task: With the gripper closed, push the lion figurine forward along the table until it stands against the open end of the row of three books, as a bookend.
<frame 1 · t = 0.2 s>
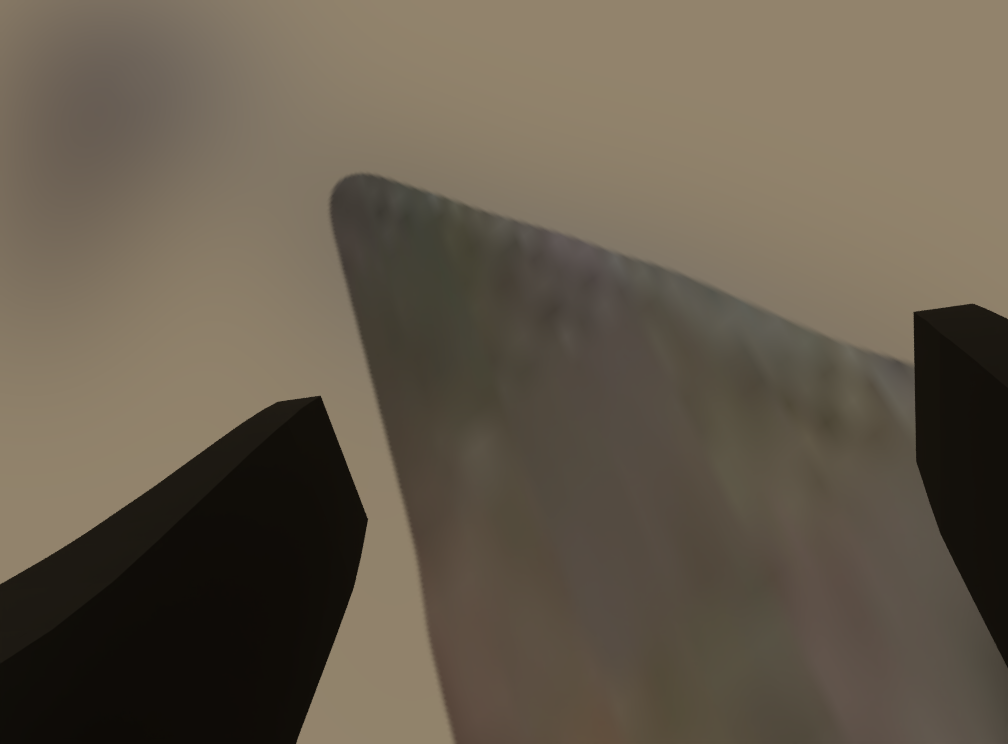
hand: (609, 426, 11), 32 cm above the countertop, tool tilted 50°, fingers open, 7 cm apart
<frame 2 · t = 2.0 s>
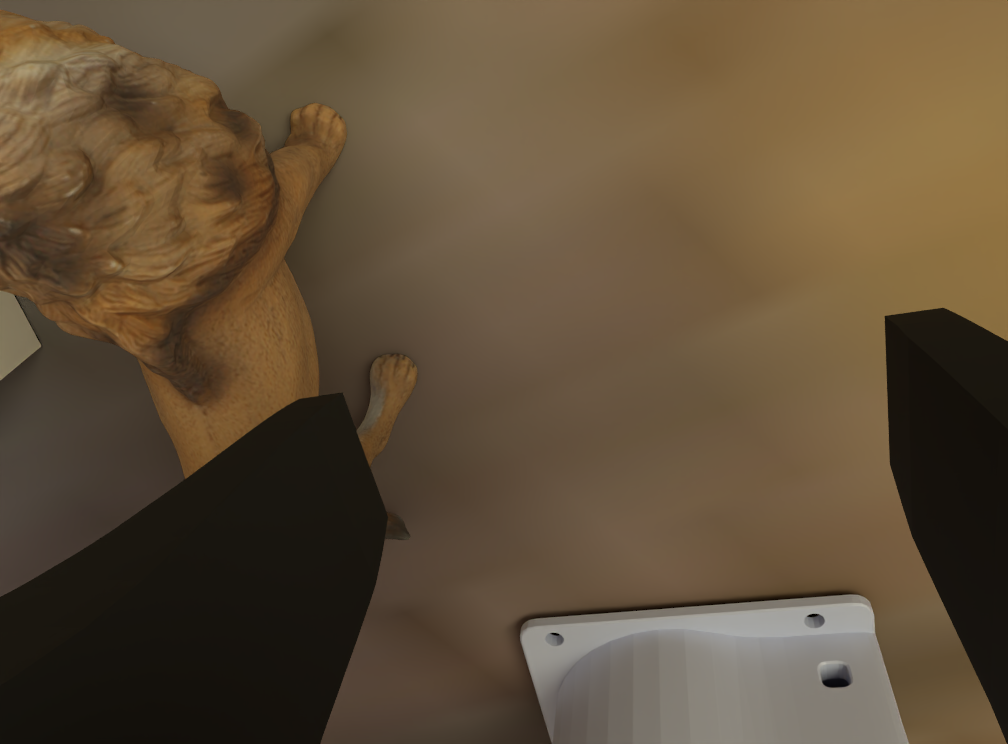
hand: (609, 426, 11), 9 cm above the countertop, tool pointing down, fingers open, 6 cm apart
lion figurine: (289, 266, 21), on the countertop
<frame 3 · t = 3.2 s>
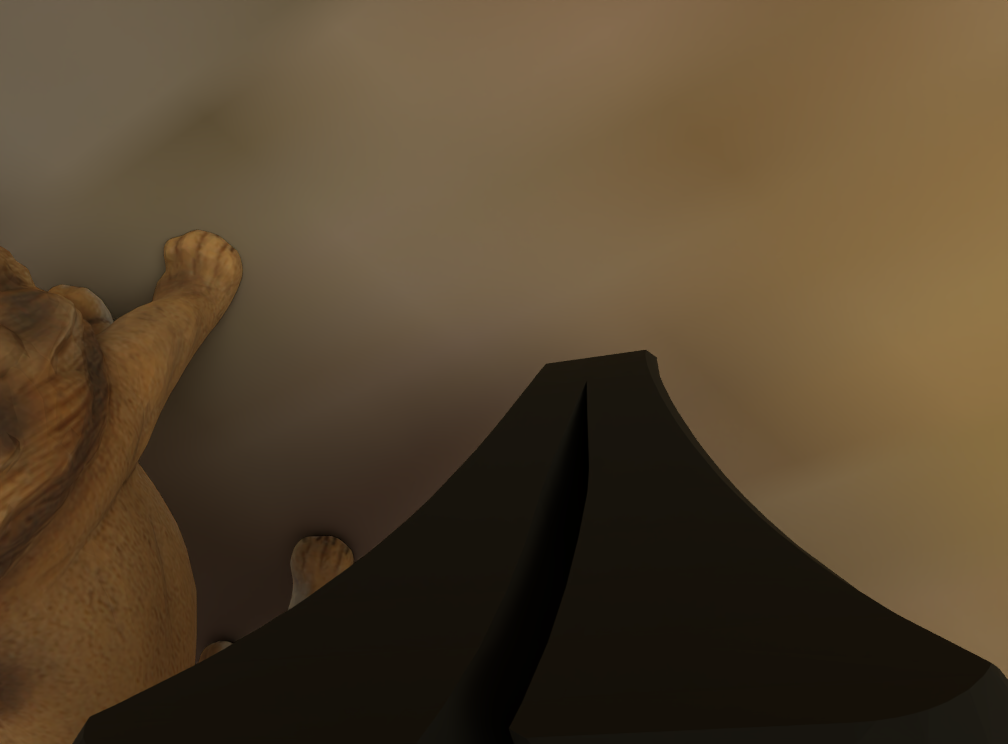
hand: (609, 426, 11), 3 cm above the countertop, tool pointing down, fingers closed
lion figurine: (182, 426, 16), on the countertop
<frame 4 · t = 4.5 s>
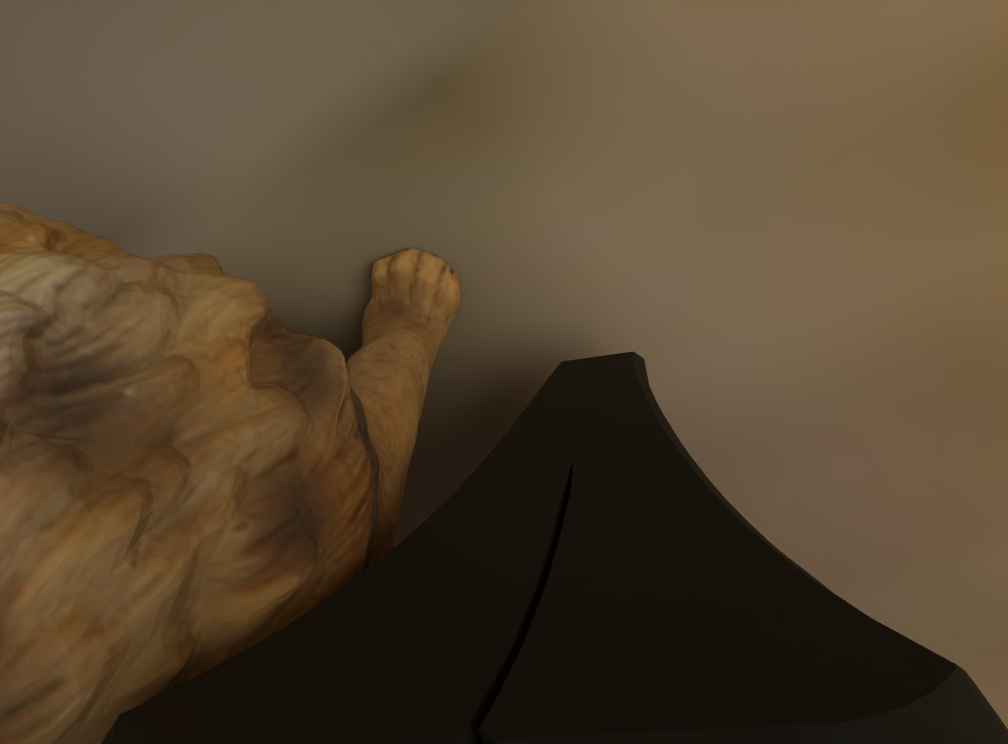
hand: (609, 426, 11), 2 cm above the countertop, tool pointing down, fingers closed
lion figurine: (362, 474, 14), on the countertop, touching gripper
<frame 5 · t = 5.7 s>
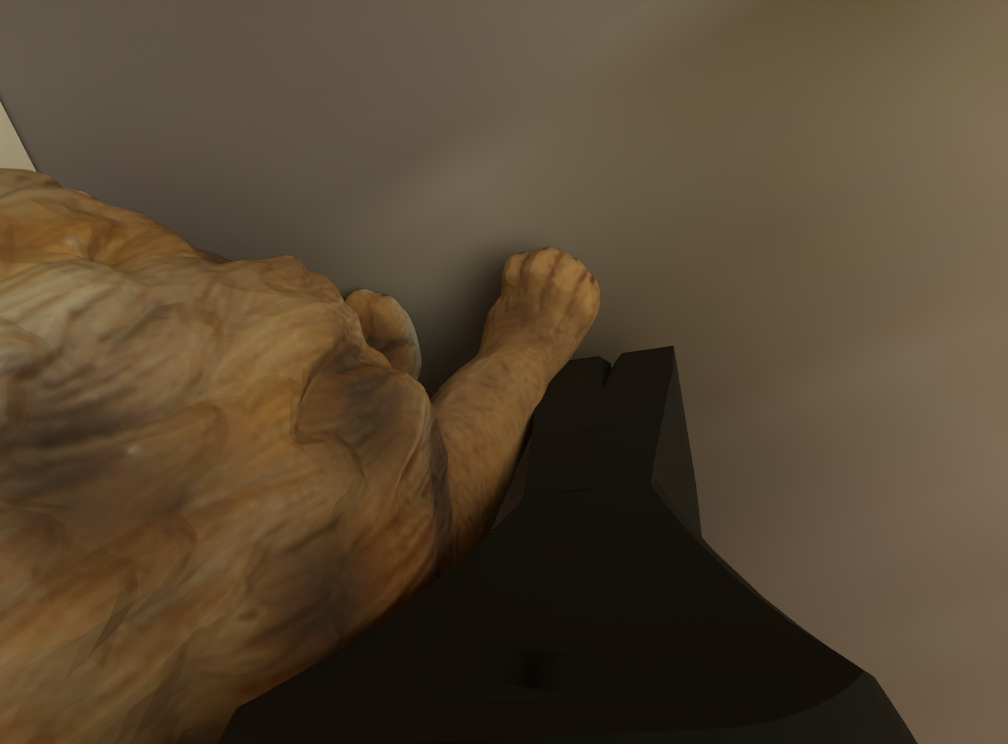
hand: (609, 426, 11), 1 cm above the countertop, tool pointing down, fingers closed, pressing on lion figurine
lion figurine: (473, 471, 13), on the countertop, touching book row, gripper
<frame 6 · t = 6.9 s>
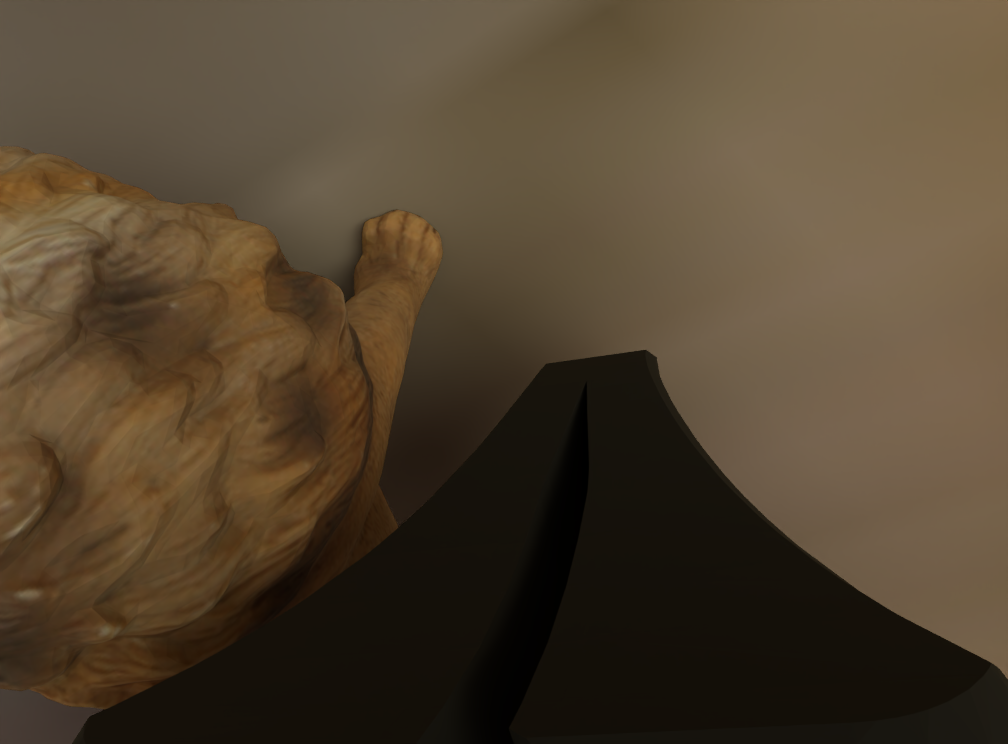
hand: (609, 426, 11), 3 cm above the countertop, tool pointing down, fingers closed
lion figurine: (352, 420, 16), on the countertop
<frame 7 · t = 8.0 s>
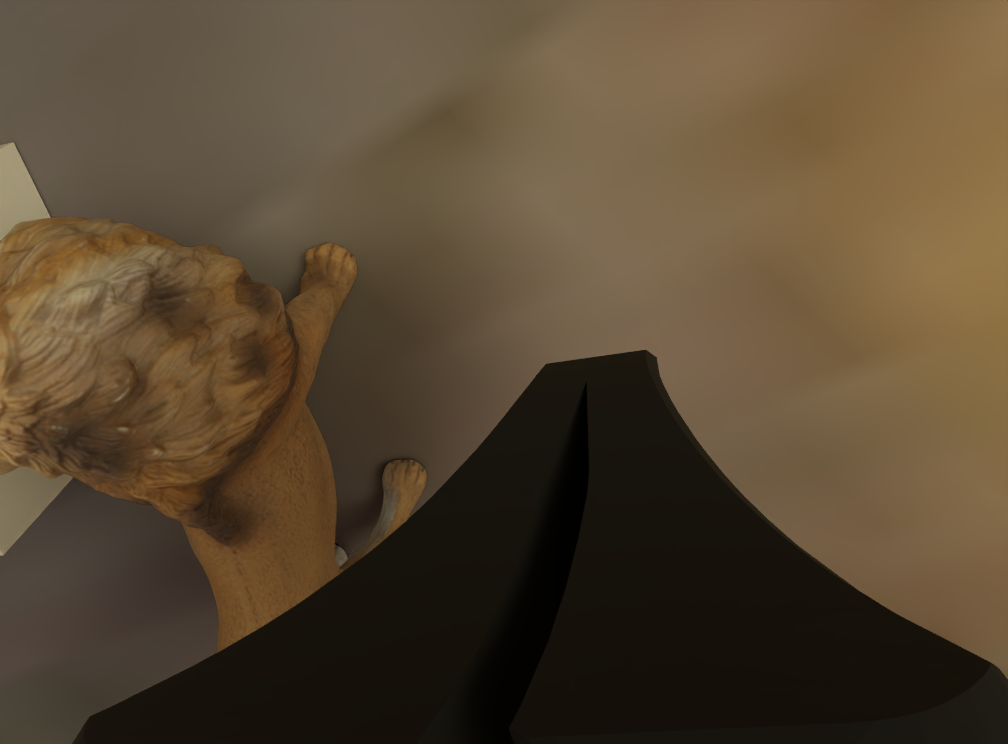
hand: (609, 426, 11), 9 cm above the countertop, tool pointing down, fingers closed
lion figurine: (305, 381, 23), on the countertop
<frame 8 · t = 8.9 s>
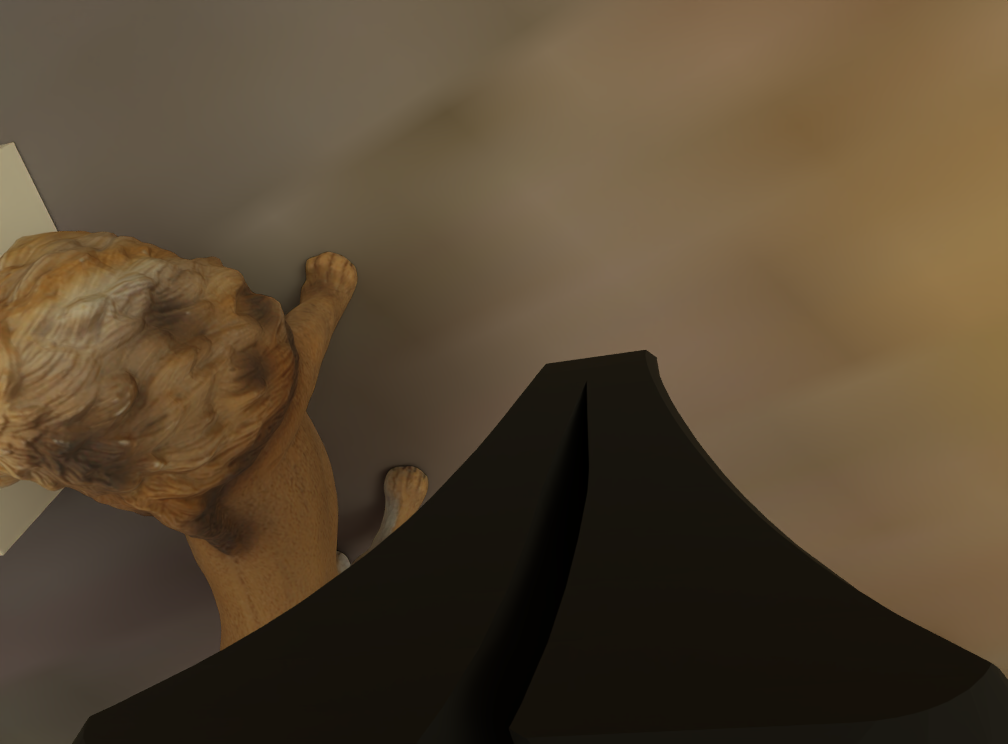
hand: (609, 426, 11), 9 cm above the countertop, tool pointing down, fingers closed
lion figurine: (307, 389, 23), on the countertop
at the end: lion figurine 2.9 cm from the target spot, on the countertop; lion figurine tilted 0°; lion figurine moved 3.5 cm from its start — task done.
